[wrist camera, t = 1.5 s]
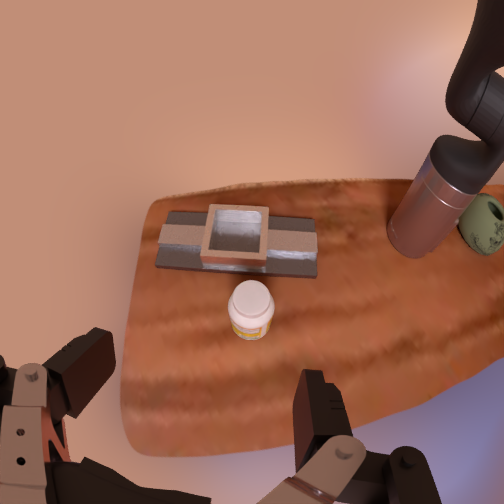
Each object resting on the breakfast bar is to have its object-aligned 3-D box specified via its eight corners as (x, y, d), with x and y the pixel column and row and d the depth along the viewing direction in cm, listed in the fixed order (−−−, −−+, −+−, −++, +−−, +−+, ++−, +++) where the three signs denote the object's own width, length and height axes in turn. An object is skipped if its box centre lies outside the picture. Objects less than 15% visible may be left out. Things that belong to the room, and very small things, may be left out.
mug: (466, 260, 42) (491, 237, 35) (445, 206, 48) (464, 180, 41) (507, 257, 42) (530, 237, 35) (487, 210, 49) (506, 188, 41)
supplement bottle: (246, 348, 36) (244, 332, 27) (223, 316, 38) (215, 291, 30) (278, 325, 37) (287, 302, 29) (255, 296, 40) (257, 265, 31)
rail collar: (313, 222, 46) (317, 207, 42) (315, 278, 41) (321, 266, 37) (170, 215, 46) (164, 200, 43) (156, 267, 42) (148, 255, 38)
